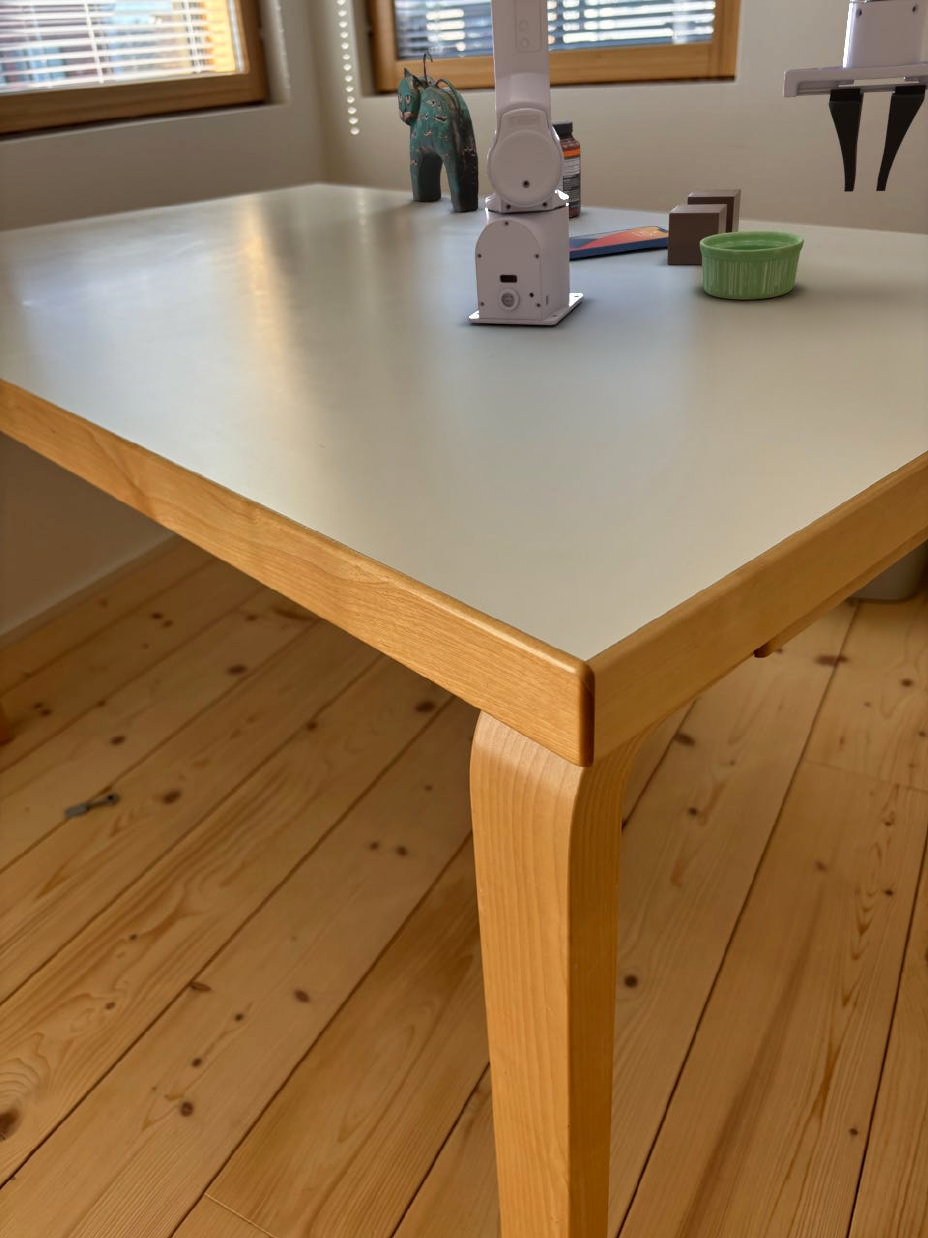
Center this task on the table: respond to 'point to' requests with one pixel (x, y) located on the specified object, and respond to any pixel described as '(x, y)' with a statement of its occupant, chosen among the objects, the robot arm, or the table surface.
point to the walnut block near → (693, 231)
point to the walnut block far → (720, 197)
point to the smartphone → (617, 241)
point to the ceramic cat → (439, 139)
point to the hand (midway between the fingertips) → (865, 189)
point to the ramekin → (750, 264)
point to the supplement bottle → (570, 165)
